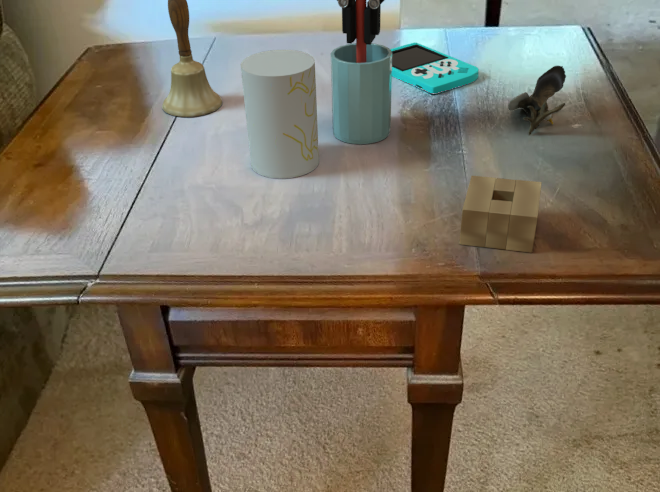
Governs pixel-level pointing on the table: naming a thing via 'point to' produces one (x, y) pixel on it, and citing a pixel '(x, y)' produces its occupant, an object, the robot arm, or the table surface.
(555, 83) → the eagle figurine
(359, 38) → the straw
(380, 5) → the robot arm
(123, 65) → the table surface
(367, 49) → the tumbler
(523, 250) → the straw holder
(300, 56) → the cup
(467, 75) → the handheld game console
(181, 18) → the hand bell
